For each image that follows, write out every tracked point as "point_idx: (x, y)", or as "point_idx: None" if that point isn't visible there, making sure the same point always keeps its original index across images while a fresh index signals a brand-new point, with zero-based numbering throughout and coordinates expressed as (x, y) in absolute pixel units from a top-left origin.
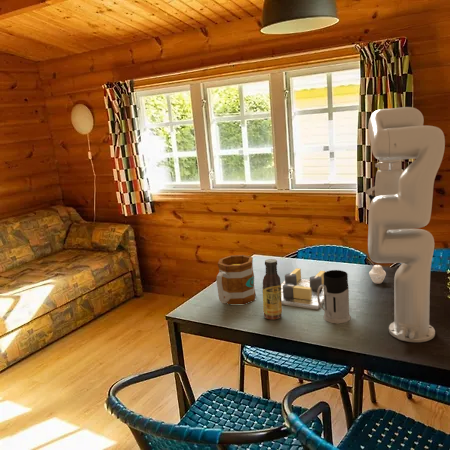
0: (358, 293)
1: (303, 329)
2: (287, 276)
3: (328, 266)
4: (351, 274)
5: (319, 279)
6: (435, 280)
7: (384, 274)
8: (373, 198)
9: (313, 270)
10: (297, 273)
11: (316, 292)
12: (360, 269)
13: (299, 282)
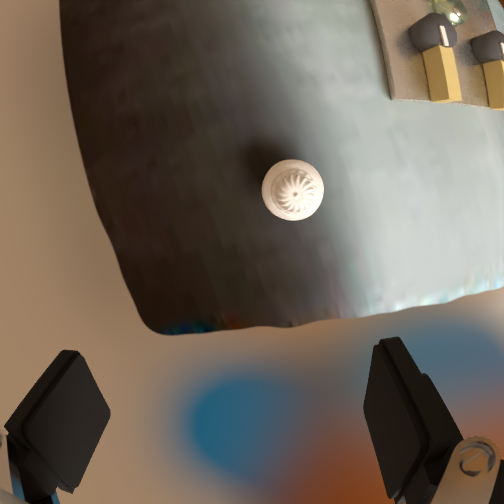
0: (309, 67)
1: None
2: (502, 37)
3: (460, 259)
4: (388, 220)
5: (426, 20)
6: (140, 270)
7: (263, 183)
8: (491, 492)
9: (486, 211)
10: (501, 81)
11: (408, 14)
12: (374, 273)
13: (479, 77)
